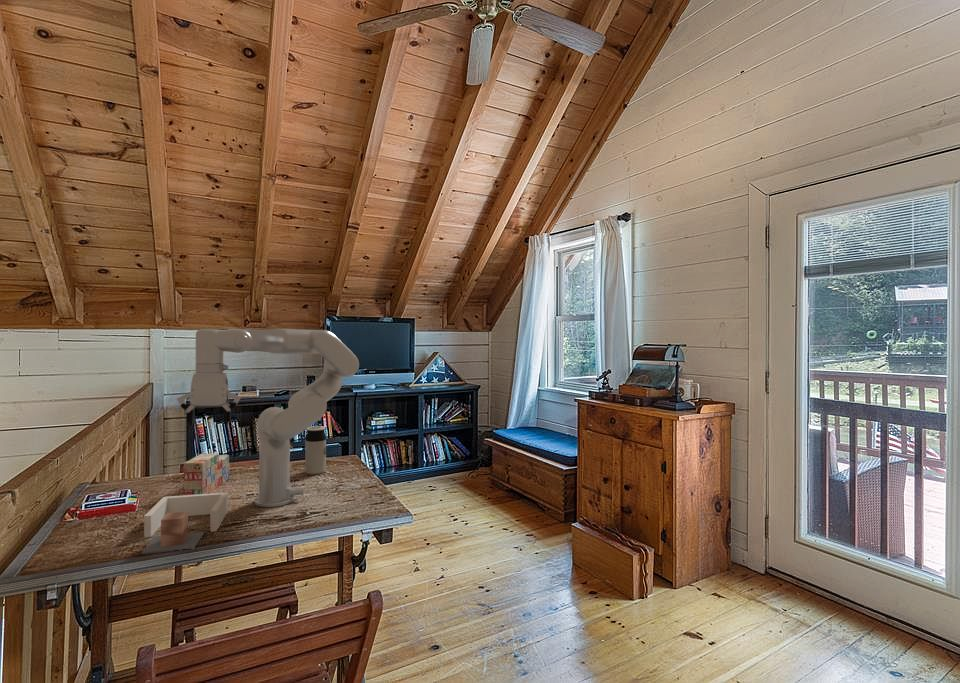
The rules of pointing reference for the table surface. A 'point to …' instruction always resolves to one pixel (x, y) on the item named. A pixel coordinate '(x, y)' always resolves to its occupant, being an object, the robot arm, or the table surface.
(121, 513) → the table surface
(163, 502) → the u-shaped wall
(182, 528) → the block
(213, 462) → the stack of blocks
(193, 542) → the mat
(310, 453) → the travel mug
